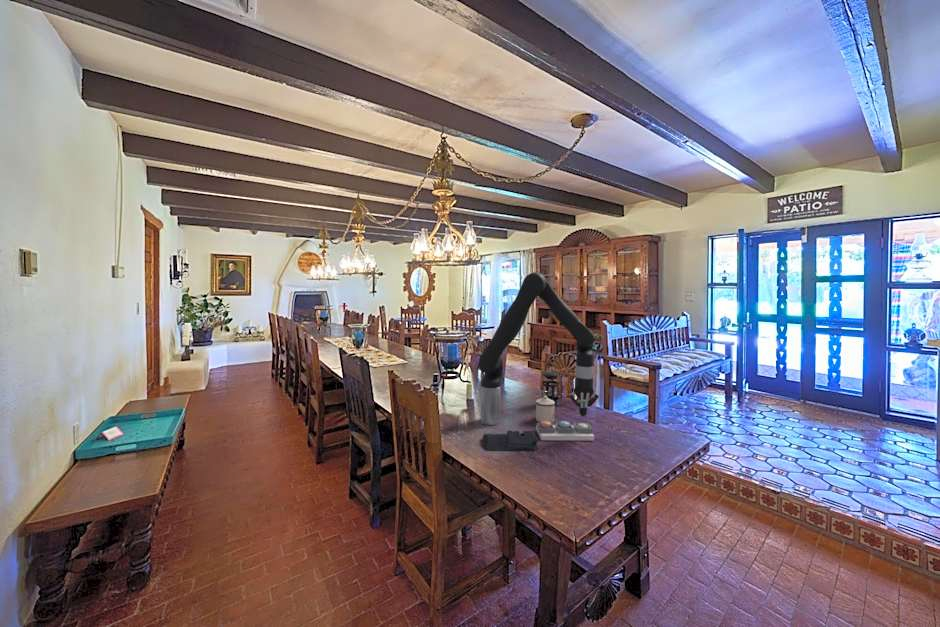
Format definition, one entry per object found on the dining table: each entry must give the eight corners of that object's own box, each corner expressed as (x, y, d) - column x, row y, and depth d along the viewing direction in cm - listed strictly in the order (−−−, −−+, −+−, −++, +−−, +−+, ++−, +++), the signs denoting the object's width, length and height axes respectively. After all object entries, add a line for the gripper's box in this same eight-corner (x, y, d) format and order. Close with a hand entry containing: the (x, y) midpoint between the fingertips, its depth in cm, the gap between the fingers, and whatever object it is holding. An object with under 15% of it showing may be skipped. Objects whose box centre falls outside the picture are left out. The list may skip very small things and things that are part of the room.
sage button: (579, 431, 159) (579, 427, 159) (576, 427, 164) (576, 423, 164) (589, 431, 159) (589, 427, 159) (586, 427, 164) (586, 423, 163)
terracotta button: (541, 429, 159) (541, 424, 159) (539, 425, 164) (539, 420, 164) (551, 429, 159) (551, 424, 159) (549, 425, 164) (549, 420, 164)
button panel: (540, 440, 156) (540, 430, 155) (535, 429, 168) (535, 420, 167) (594, 440, 156) (594, 431, 155) (585, 429, 168) (586, 420, 167)
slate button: (560, 429, 159) (560, 424, 159) (557, 425, 164) (558, 420, 163) (570, 429, 159) (570, 424, 159) (568, 425, 164) (568, 420, 163)
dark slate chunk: (481, 437, 160) (481, 426, 160) (532, 436, 161) (533, 426, 160) (483, 453, 145) (483, 441, 144) (540, 452, 145) (540, 440, 145)
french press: (543, 407, 198) (543, 364, 196) (537, 402, 207) (538, 361, 206) (564, 406, 200) (565, 364, 198) (557, 401, 209) (558, 360, 207)
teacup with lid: (557, 423, 175) (557, 398, 174) (538, 423, 174) (538, 399, 173) (549, 414, 187) (549, 391, 186) (531, 415, 186) (532, 392, 185)
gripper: (571, 377, 156) (569, 418, 157) (602, 378, 156) (601, 418, 157) (566, 373, 164) (565, 412, 165) (596, 374, 164) (595, 412, 165)
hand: (582, 415), depth 161 cm, fingers closed
